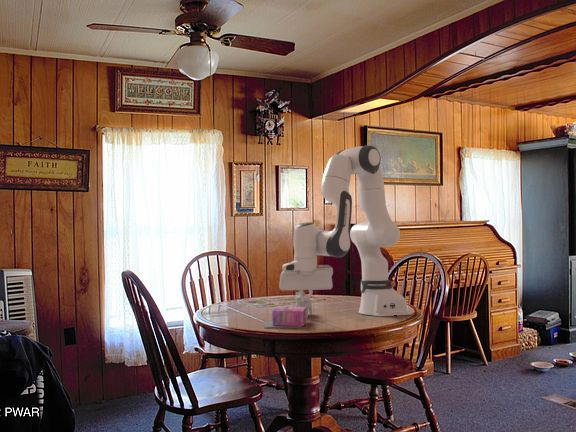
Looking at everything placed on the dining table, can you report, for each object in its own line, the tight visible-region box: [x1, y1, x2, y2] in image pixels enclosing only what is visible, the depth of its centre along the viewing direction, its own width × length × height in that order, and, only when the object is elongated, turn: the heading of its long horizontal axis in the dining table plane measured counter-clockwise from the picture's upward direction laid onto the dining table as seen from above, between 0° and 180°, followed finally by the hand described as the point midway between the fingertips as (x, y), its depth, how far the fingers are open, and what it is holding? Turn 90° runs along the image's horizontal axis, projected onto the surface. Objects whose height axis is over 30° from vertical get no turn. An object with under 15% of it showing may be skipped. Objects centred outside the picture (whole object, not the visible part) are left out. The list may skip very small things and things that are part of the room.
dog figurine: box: [294, 291, 313, 319], centre depth 214 cm, size 5×13×11 cm, turn 162°
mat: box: [264, 320, 303, 329], centre depth 196 cm, size 14×12×1 cm
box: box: [271, 305, 308, 327], centre depth 197 cm, size 10×6×12 cm
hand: (306, 301), depth 196 cm, fingers closed
